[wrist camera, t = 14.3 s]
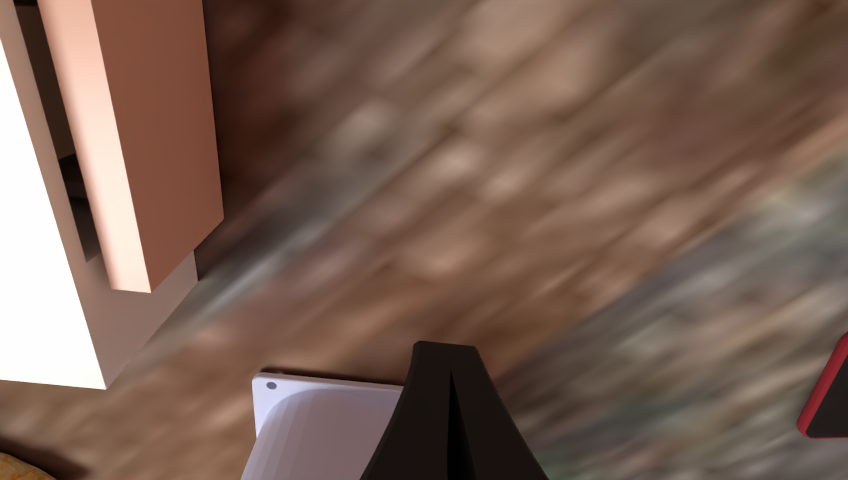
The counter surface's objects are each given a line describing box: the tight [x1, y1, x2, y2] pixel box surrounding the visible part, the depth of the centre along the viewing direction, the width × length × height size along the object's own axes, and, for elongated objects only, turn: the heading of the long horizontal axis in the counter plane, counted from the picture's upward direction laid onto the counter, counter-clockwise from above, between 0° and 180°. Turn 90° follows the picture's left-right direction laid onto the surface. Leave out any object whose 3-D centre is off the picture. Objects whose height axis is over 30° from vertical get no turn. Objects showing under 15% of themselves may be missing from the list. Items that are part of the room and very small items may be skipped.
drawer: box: [37, 0, 224, 293], centre depth 13 cm, size 9×11×5 cm
